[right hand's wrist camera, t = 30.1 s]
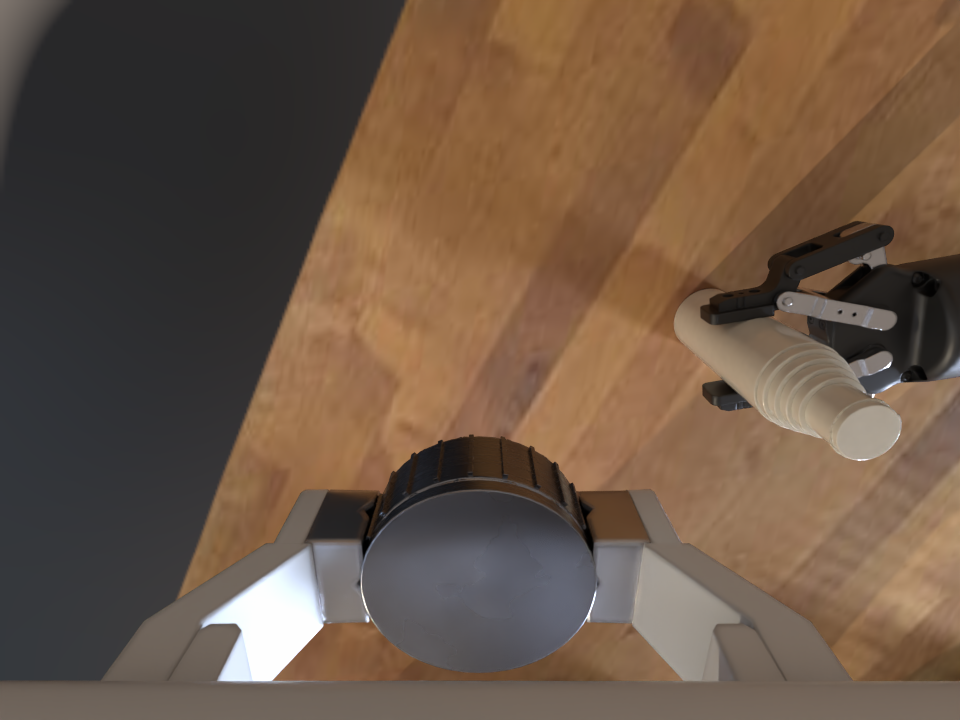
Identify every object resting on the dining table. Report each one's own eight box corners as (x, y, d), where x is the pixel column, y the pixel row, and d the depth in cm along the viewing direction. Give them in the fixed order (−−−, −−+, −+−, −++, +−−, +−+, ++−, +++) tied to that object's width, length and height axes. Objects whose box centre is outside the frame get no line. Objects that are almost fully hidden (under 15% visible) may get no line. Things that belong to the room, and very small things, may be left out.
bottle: (686, 360, 41) (828, 496, 24) (664, 307, 39) (799, 413, 23) (747, 332, 40) (936, 453, 23) (726, 277, 38) (913, 364, 22)
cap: (623, 522, 10) (650, 589, 9) (477, 629, 11) (477, 708, 10) (480, 390, 9) (480, 439, 8) (334, 521, 10) (307, 589, 9)
